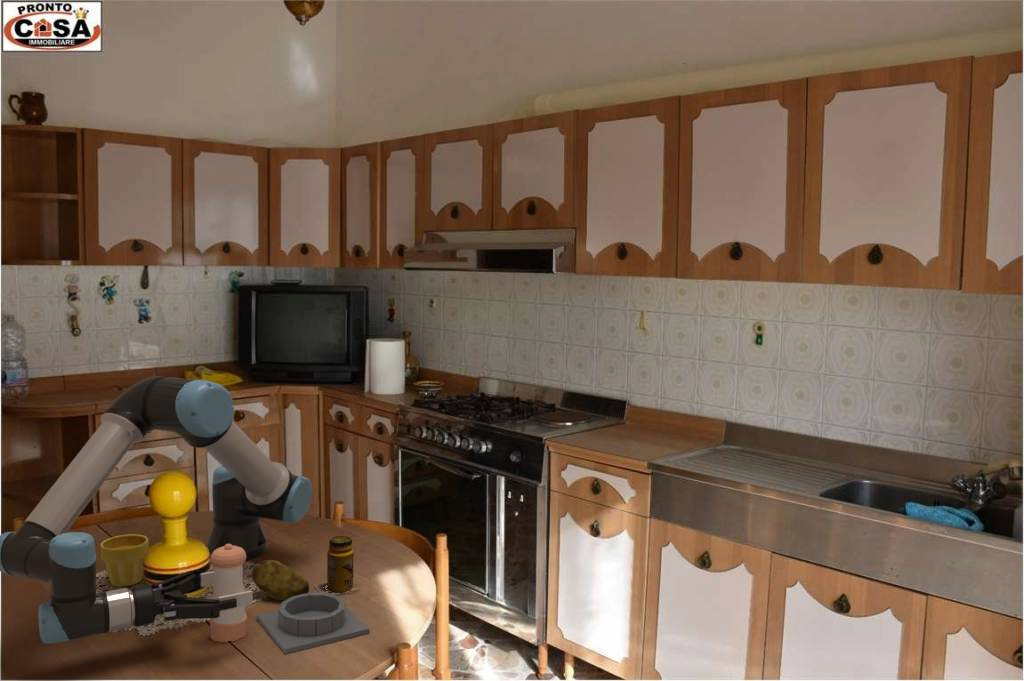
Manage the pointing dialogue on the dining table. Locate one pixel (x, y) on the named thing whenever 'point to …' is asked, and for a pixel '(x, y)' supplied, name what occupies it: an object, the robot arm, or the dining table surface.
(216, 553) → the salt shaker
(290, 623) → the collar stand
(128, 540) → the plant pot
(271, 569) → the potato
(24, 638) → the dining table surface
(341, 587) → the condiment
